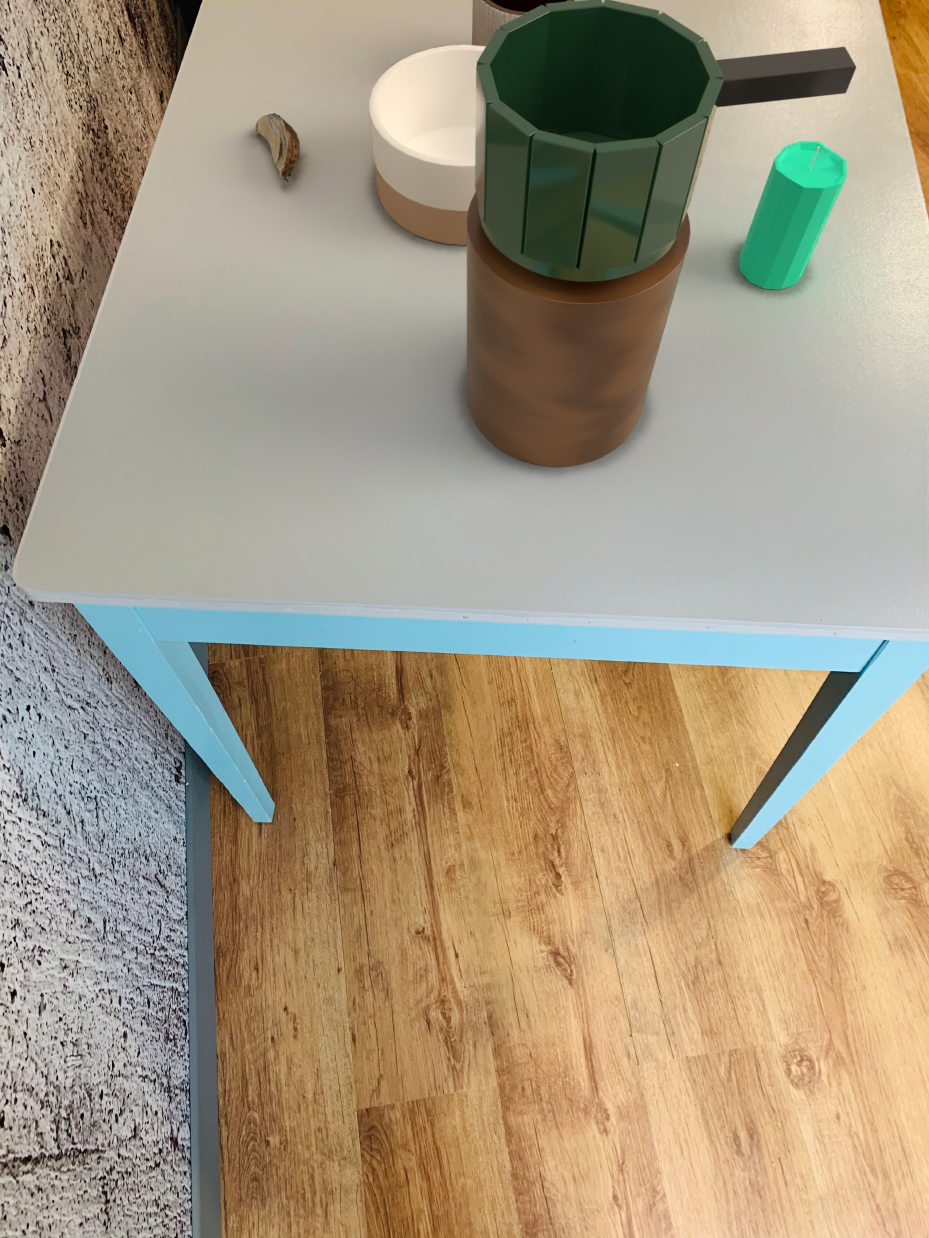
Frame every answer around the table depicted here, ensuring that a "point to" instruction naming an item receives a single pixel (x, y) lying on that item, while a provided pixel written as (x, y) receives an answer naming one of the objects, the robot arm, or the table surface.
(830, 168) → the candle
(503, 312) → the stand
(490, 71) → the pot
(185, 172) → the table surface
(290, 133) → the oyster shell
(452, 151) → the bowl
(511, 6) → the planter
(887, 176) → the table surface
